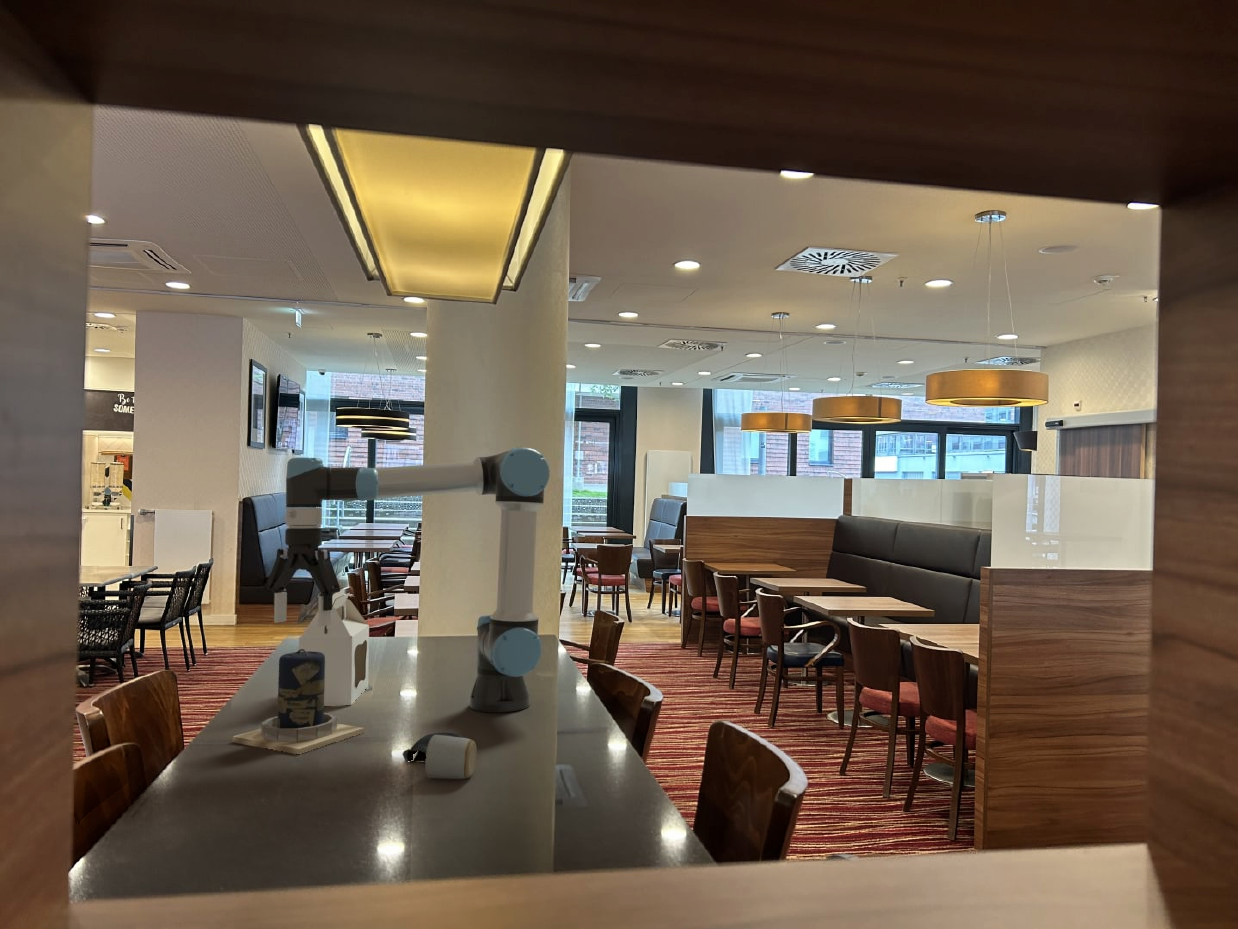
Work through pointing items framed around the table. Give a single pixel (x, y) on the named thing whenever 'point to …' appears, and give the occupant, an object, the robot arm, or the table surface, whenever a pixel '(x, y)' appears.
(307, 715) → the canister
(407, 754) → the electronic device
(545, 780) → the table surface
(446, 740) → the ceramic mug
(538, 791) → the table surface
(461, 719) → the table surface
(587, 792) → the table surface
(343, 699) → the gable box
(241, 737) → the ring holder board
